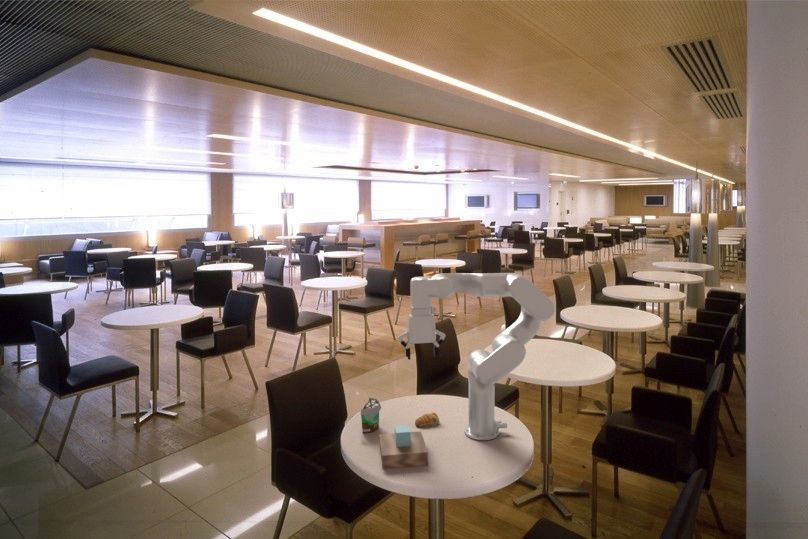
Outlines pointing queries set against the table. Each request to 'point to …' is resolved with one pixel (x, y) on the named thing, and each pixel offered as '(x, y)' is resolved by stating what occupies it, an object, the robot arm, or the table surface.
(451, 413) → the table surface
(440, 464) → the table surface
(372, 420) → the food container
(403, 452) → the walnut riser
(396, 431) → the teal cube
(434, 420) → the pastry
